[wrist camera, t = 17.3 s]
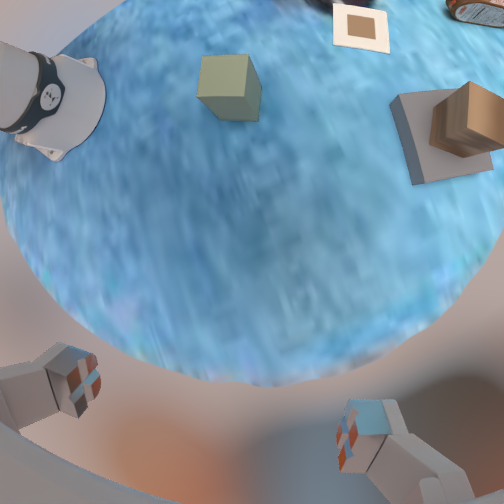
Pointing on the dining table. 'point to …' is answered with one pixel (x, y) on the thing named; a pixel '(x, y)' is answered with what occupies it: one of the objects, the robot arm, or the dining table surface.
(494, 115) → the walnut block
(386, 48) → the card
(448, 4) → the tin
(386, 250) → the dining table surface
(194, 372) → the dining table surface
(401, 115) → the base block
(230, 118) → the olive block
